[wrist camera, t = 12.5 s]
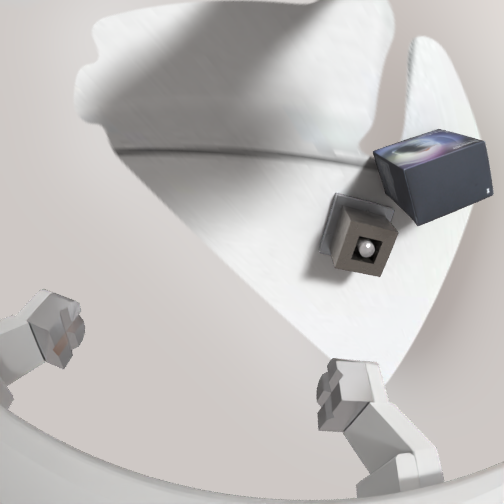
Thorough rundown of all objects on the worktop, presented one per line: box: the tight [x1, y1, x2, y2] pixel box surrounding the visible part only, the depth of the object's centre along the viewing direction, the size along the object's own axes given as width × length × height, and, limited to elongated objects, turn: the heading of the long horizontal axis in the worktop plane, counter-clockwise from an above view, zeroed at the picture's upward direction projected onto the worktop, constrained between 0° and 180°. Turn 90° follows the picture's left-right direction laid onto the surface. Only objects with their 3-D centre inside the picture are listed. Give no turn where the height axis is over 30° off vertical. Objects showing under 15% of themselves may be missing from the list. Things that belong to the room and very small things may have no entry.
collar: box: [329, 205, 398, 277], centre depth 34 cm, size 6×6×5 cm
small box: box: [373, 129, 494, 226], centre depth 27 cm, size 11×6×10 cm, turn 116°
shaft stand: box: [319, 193, 394, 257], centre depth 34 cm, size 8×8×6 cm
